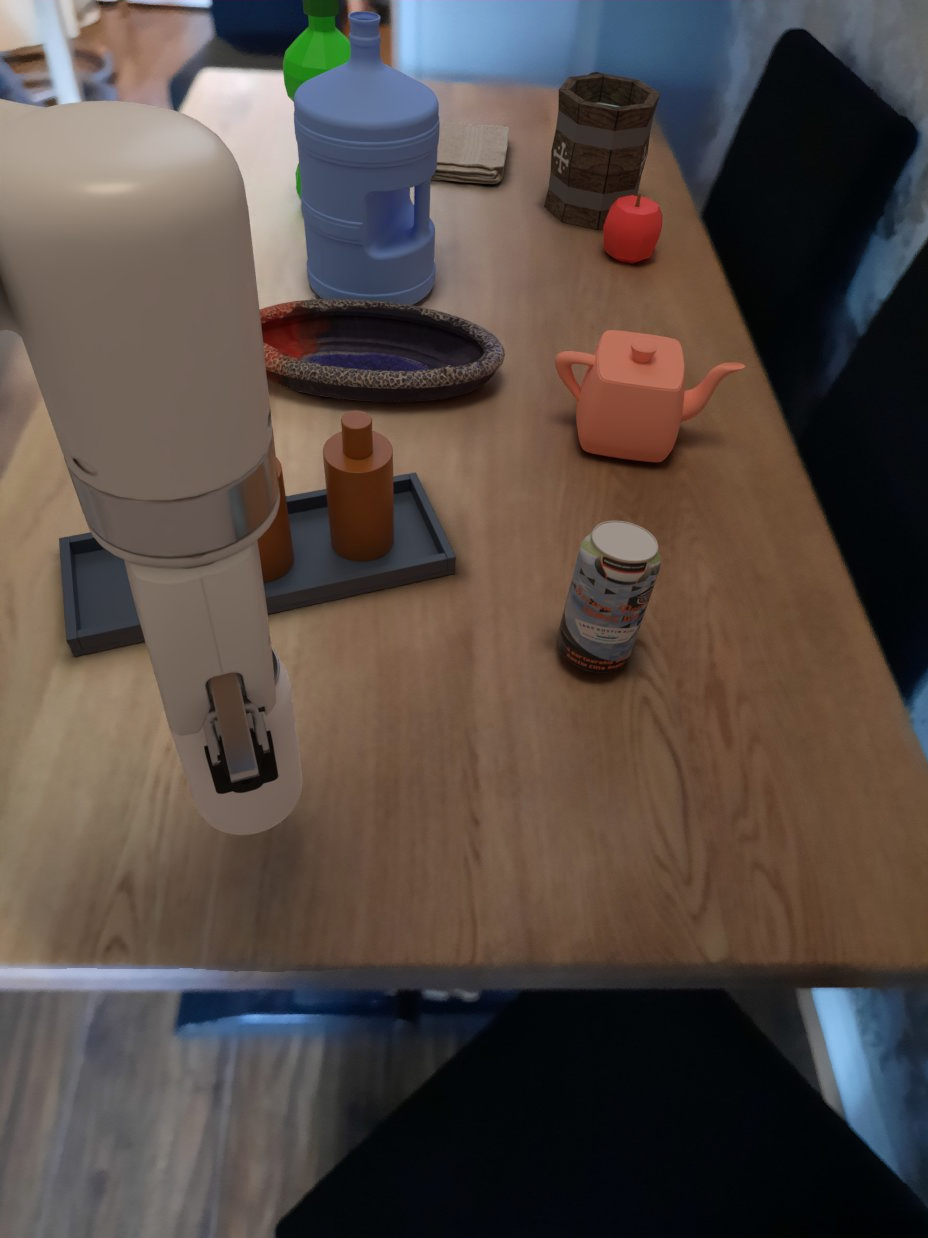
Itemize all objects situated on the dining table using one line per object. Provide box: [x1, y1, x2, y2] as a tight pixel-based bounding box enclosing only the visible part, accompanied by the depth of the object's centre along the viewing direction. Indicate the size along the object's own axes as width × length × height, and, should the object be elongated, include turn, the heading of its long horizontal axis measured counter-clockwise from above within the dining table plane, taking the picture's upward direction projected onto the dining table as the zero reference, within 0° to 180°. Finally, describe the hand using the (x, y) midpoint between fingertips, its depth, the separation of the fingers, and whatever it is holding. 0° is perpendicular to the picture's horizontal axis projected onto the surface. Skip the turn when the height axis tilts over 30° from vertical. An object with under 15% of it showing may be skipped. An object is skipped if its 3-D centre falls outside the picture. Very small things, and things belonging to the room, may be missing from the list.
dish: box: [259, 298, 506, 403], centre depth 92 cm, size 16×31×5 cm, turn 84°
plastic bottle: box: [282, 0, 351, 201], centre depth 108 cm, size 10×10×25 cm
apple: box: [602, 193, 664, 265], centre depth 111 cm, size 8×8×8 cm
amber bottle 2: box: [322, 410, 394, 562], centre depth 71 cm, size 6×6×13 cm
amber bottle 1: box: [257, 456, 294, 583], centre depth 69 cm, size 6×6×13 cm
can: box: [163, 645, 303, 836], centre depth 47 cm, size 6×6×12 cm
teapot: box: [554, 329, 746, 463], centre depth 85 cm, size 12×18×10 cm, turn 81°
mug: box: [543, 71, 661, 231], centre depth 119 cm, size 20×14×15 cm
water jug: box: [293, 10, 441, 306], centre depth 95 cm, size 16×16×28 cm
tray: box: [58, 472, 457, 657], centre depth 73 cm, size 32×12×2 cm, turn 109°
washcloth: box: [431, 121, 510, 185], centre depth 130 cm, size 12×18×3 cm, turn 176°
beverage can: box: [556, 520, 662, 674], centre depth 66 cm, size 6×7×12 cm
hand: (235, 725), depth 47 cm, fingers closed on can, 6 cm apart
